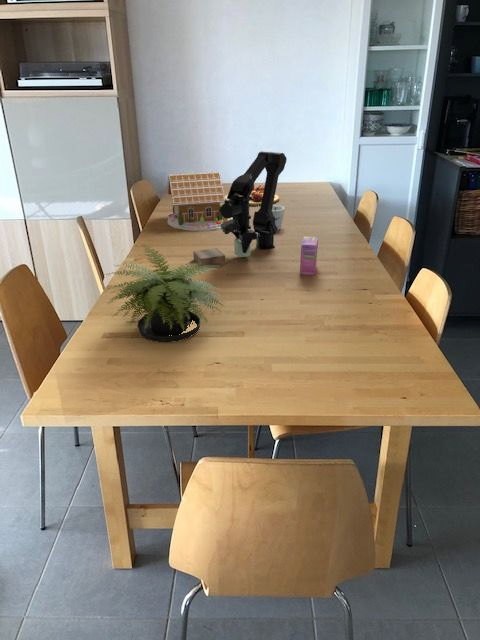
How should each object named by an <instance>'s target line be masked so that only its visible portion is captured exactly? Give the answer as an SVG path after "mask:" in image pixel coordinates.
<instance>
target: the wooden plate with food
mask: <svg viewBox="0 0 480 640" xmlns="http://www.w3.org/2000/svg"><path fill="white" fill-rule="evenodd" d="M264 186H265V185H260V184H259V186H257V187H256V186H255V185H254V189H253V191H252V193H251V194H250V196H251V197H252V200H249V207H258V206H257V205H261V202H262V197H263V191H264ZM234 195H235V194H234ZM224 196H225V200H229V199H227V196H228V194H226V195H224ZM236 196H240V195H236ZM277 201H278V202H279V201H280V196H279V195H278V194H276V193H275V197H274V202H273V203H274V204H276V203H278V202H277ZM275 202H276V203H275Z"/></svg>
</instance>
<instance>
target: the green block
mask: <svg viewBox="0 0 480 640" xmlns="http://www.w3.org/2000/svg"><path fill="white" fill-rule="evenodd" d="M233 240H234V242H233V243H234V244H233V245H234V246H233V247H234V255H235V256H237V258H243V257H250V256H251V245H250V246H249V248H248V250H247V252H246V253H243V250H242V243H241V240H239V239H236V238H234V239H233Z"/></svg>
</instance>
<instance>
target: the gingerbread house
mask: <svg viewBox="0 0 480 640" xmlns="http://www.w3.org/2000/svg"><path fill="white" fill-rule="evenodd" d="M222 182H223V181H222V177H221V173H220V171H215V172H213V171H211V172H199V173H198V172H196V173H195V172H194V173H175V174H172V173H171V174H168V175H167V186H166V188H167V189H166V194H167V195H168V196H171V201H172V214H168V216H167V224H168V225H169V226H170V227H172V228H175V229H178V230H185V231H194V232H195V231H197V232H199V231H203V232H204V231H214V230H220V229H221V230H222V228H221V226H220V225H221V224H222V223H224V222H226V221H228V220H231V219H233V217H232V218H229V219H226V218H224V217H223V216H222V215H221V212H220V209H221V206H222V205H221V204H225V202H224V201H225V196H226V195H225V192H224V187H223V183H222Z"/></svg>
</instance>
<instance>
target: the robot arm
mask: <svg viewBox="0 0 480 640" xmlns="http://www.w3.org/2000/svg"><path fill="white" fill-rule="evenodd" d="M286 163H287V157H286V155H285V153H284V152H278V151H277V152H276V151H263V150H262V151H259V152H258V153H257V156H256V158H255V159H254V161H252V163H251V164H250V166H249V168H247V169H246V171H245V172H244V173H243V174H242V175H240V176H238V177H236V178H235V179H234V180H233V181H232V183H231V186H230V188H229V190H228V193H227V195H228V196H227V199H229V200H225V201H224V203H222V205H221V209H220V212H221V215H222V216H223V217H224V218H226V219H229V218H232V217H233V219H231V220H228V221H226V222H224V223H222V224H221V225H220V226H221V230H222V232H223V234H224V235H228V234H230V233H231V234H233V235H234V236H235V237H234V238H235V239H239V240H241V243H242V250H243V253H246V252H247V250H248V248H249V246H250V247H251V244H252V242H253V241H254V240H256V241H255V242H256V243H255V246H257V247H258V248H259V249H260V250H266V249H267V250H268V249H274V248H276V245H274V241H275V240H274V239H275V235H276V234H278V230H277V229H278V228H277V226H276V225H275V224H274V216H273V213H272V207H273V205H274V204H273V202H274V197H275V194H276V190H277V185H278V181H279V176H280V175H281V173H282V172H283V171H284V170H285V166H286ZM264 169H265V171H266V177H265V182H264V185H263V186H264V191H263V197H262V202H261V206H260V208H259V209H258V210H257V211H254V213H253V219H252V216H251V215H250V206H249V200H252V197H251V196H250V194H251V193H252V191H253V189H254V186H255V182H256V180H257V179H258V177H259V176H260V175H261V173H262V172H263V171H264ZM234 194H235V195H234ZM236 195H240V196H236ZM251 219H252V226H253V229H252V226H251V225H250V220H251Z"/></svg>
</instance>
